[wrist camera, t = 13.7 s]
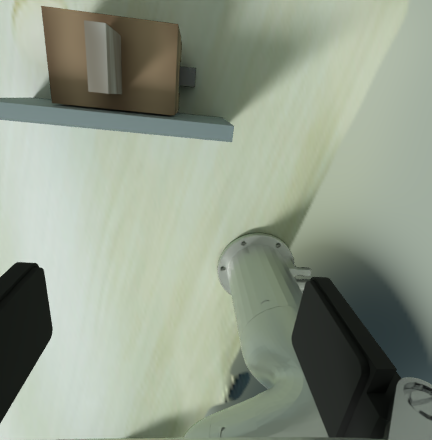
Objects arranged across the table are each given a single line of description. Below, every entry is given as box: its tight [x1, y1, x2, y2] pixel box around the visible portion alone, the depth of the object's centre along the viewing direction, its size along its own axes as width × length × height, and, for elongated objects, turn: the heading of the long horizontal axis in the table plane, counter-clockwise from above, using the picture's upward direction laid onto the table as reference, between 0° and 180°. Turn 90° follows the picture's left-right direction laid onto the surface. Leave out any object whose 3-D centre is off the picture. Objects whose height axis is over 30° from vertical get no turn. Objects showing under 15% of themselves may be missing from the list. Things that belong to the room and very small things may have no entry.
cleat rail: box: [179, 66, 196, 87], centre depth 35 cm, size 16×2×2 cm, turn 84°
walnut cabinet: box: [41, 6, 182, 115], centre depth 30 cm, size 12×8×14 cm, turn 84°
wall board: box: [0, 98, 234, 142], centre depth 32 cm, size 24×2×12 cm, turn 84°
